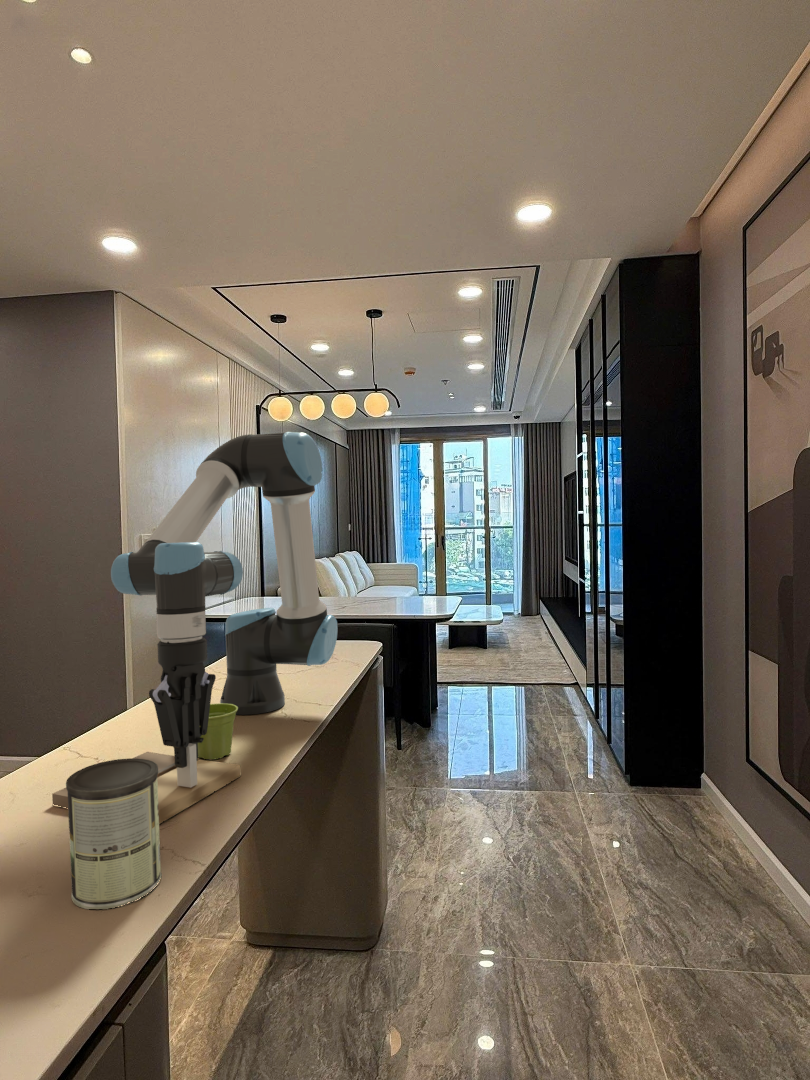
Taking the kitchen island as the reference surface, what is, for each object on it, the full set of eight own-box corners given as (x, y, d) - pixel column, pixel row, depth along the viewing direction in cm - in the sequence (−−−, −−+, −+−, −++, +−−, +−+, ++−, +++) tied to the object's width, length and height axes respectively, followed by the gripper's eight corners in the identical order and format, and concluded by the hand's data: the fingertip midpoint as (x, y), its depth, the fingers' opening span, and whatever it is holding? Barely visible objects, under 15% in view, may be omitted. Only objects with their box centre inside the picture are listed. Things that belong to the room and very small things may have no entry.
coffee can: (55, 890, 80) (50, 776, 80) (135, 856, 88) (132, 752, 88) (95, 922, 74) (90, 798, 73) (178, 882, 82) (174, 769, 81)
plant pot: (186, 766, 120) (185, 719, 120) (189, 749, 129) (188, 705, 129) (239, 760, 123) (238, 714, 123) (238, 744, 132) (237, 701, 132)
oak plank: (195, 770, 118) (194, 759, 118) (240, 776, 114) (240, 764, 114) (104, 817, 100) (104, 804, 100) (155, 826, 96) (154, 812, 96)
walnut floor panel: (147, 762, 123) (147, 751, 123) (190, 769, 119) (189, 758, 119) (52, 806, 104) (52, 793, 104) (98, 816, 101) (98, 802, 100)
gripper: (171, 646, 98) (176, 803, 98) (227, 632, 110) (232, 773, 110) (133, 644, 101) (138, 797, 101) (191, 631, 113) (196, 768, 113)
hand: (187, 784), depth 106 cm, fingers closed
